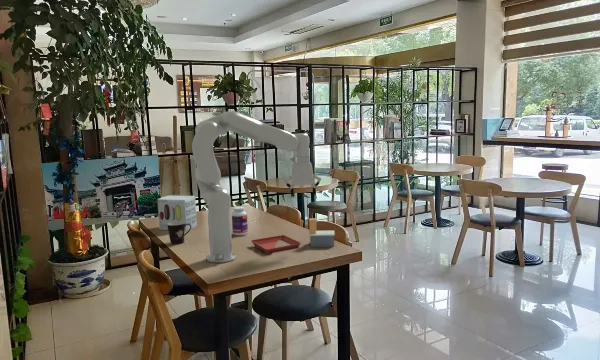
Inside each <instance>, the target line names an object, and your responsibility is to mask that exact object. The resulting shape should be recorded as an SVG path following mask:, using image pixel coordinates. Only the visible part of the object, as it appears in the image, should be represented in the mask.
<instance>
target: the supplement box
mask: <svg viewBox="0 0 600 360" xmlns="http://www.w3.org/2000/svg"><path fill="white" fill-rule="evenodd" d="M196 206H197V204H196V195H166V196H163V197H160V198H157V211H158V228H159V231H168V226H167V224H168V223H171V222H185V224H190V225H191V230H192V229H194V228H196V227H197V226H198V224H197V210H196V209H197V207H196ZM190 225H186V226H185V232H188V231H189V229H190Z"/></svg>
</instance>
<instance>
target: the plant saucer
mask: <svg viewBox="0 0 600 360" xmlns="http://www.w3.org/2000/svg"><path fill="white" fill-rule="evenodd" d="M278 241H279V242H280V241H284V242H286V243H288V244H287V245H283V246H277V247H276V245H277V244H278V243H277V242H278ZM250 242H251V243H252V244H253V246H255V247H256V248H258V249H259V250H261V251H263V252H265V253H267V255H268V254H272V253H273V252H279V251H284V250H290V249H294V248H298V247H299V246H300V245H301V244H302V242H301V241H298V240H295V239H293V238H291V237H290V236H287V235H285V234H281V235H275V236H268V237H262V238H258V239H257V238H256V239H251V241H250Z"/></svg>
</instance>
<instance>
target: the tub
mask: <svg viewBox="0 0 600 360" xmlns="http://www.w3.org/2000/svg"><path fill="white" fill-rule="evenodd" d="M309 239H310V241H309V243H310V248H315V247H316V248H320V247H321V248H326V247H329V248H330V247H333V248H335V236H309Z"/></svg>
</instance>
